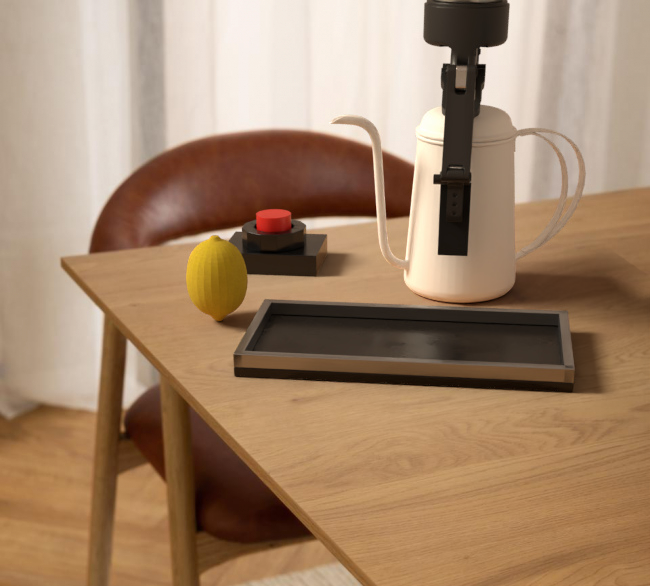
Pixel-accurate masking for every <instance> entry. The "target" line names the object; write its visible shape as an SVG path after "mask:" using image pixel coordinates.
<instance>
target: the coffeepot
mask: <svg viewBox="0 0 650 586" xmlns="http://www.w3.org/2000/svg"><path fill="white" fill-rule="evenodd" d="M474 100H475V97H474ZM420 121H421V122H420V124H418V125H417V126H416V127H415V137H416V138H417V140H416V151H415V161H414V168H413V180H412V189H411V199H410V208H409V209H410V210H409V218H408V228H407V229H408V230H407V240H406V248H405V258H404V259H401V258H398V257H397V256H395V254H393V252H392V250H391V247H390V245H389V239H388V228H387V227H388V225H387V212H386V211H387V209H386V194H385V177H384V162H383V149H382V139H381V136H380V133H379V131H378V128H377V127H376V125H375V124H374V123H373V122H371V120H369V119H367V117H363V116H361V115H355V114H341V115H339V116H338V115H337V116H336V117H334V118H333V119H331V120H330V121H329V122H328V124H329V125H347V126H348V125H349V126H357V127H359V128H362V129H363V130H364V131H365V132H367V134H368V136H369V137H370V142H371V146H372V147H371V148H372V161H373V162H372V163H373V177H374V178H373V179H374V193H375V206H376V223H377V236H378V245H379V248H380V252H381V254H382V257H383V258H384V260H385V261H386V262H387V263H388V264H389V265H390V266H392V267H394V268H397V269H401V270H403V280H404V283H405V285H406V287H407V288H408V289H409V290H411V292H413V293H414V294H416V295H418V296H420V297H423V298H426V299H429V300H433V301H438V302H444V303H455V304H456V303H457V304H460V303H461V304H466V303H467V304H469V303H480V302H486V301H490V300H494V299H497V298H500V297H502V296H504V295H506V294H507V293H508V292H509V291H511V290H512V288H513V287H514V285H515V282H516V272H517V261H518V260H520V259H522V258H524V257H526V256H527V255H530V254H532V253H533V252H535V251H537V250H538V249H540V248H542V247H543V246H545V245H546V244H547V243H548V242H550V241H551V240H552V239H553V238H554V237H555V236H557V235H558V234H559V232H561V230H563V228H565V226H566V225H567V224H568V222H569V221H570V219H572V217H573V215H574V213H575V211H576V210H577V208H578V206H579V203H580V201H581V199H582V196H583V192H584V188H585V185H586V184H585V183H586V174H587V173H586V164H585V160H584V156H583V154H582V152H581V150H580V149H579V147H578V145H577V144H576V143H575V142H574V141H573V140H572V139H570V138H569V137H567V136H566V135H565V134H562V133H561V132H558V131H556V130H553V129H548V128H542V127H527V128H521V129H517V128H516V126H514V125H513V121H512V118H511V116H510V114H509V113H507V112H506V111H505V110H503V109H502V108H499V107H496V106H492V105H487V104H480V114H479V115H478V116H477V117H475V118H474V123H473V138H472V153H471V168H470V172H471V175H472V177H471V181H470V182H471V200H470V218H469V237H468V255H467V256H450V255H438V234H439V209H440V184H433V176H434V174H440V172H441V171H442V156H443V139H444V123H445V116H444V115H443V114H442V105H440V106H436V107H434V108H431V109H429V110H428V111H427V112H425V113H424V115H423V116H422V118H421V120H420ZM540 133H545V134H553V135H556V136H560V137H561V138H563V139H565V141H566V142H567V143H568V144H570V146H571V148H572V150H573V151H574V153H575V155H576V159H577V163H578V164H577V165H578V178H577V179H578V180H577V184H576V188H575V192H574V195H573V197H572V200H571V203H570V204H569V206H568V207H567V210H566V211H565V213H564V214H563V212H564V209H565V206H566V203H567V198H568V193H569V173H568V166H567V163H566V162H567V161H566V160H565V157H564V155H563V153H562V152H561V150H560V149H559V148H558V146H557V145H556V144H555V142H553V141H552V140H550V139H549V138H547V137H546V136H544V135H542V134H540ZM526 136H535V137H539V138H541V139H543V140H544V141H545V142H547V144H549V145H550V146H551V148H552V149H553V150H554V152H555V154H556V156H557V158H558V161H559V165H560V172H561V189H560V195H559V200H558V203H557V206H556V209H555V211H554V213H553V215H552V217H551V218H550V220H549V222H547V225H545V227H544V229H543V230H542V231H541V232H540V233H539V235H538V236H537V237H536V238H535V239H534V240H533V241H532V242H530V243H529V244H527V245H525V246H523V247H522V248H520V250H519V251H517V252H516V196H515V195H516V187H515V186H516V185H515V183H516V177H515V176H516V175H515V173H516V172H515V169H516V167H515V152H516V141H517V140H516V139H517V138H518V137H526ZM452 168H455V167H452Z"/></svg>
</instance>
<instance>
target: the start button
mask: <svg viewBox="0 0 650 586" xmlns="http://www.w3.org/2000/svg"><path fill="white" fill-rule="evenodd" d="M291 219H292V212H290V211H289V210H286V209H280V208H270V209H262V210H259V211H257V212H256V213H255V220H256V223H257V230H260V231H265V232H279V231H287V230H290V229H291Z"/></svg>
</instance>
